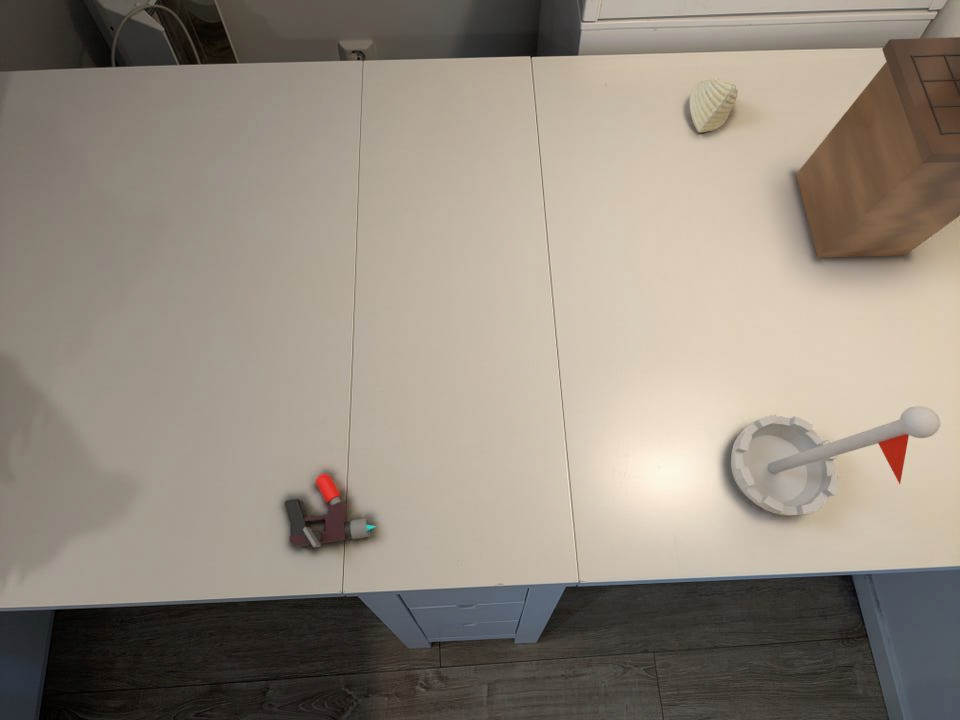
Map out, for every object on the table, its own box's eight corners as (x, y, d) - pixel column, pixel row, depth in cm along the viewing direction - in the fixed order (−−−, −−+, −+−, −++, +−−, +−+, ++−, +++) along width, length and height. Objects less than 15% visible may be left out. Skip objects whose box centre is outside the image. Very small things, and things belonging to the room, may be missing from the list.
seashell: (745, 89, 97) (754, 102, 91) (709, 130, 103) (714, 145, 97) (710, 61, 96) (717, 72, 90) (675, 104, 101) (679, 118, 95)
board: (881, 168, 94) (1017, 34, 70) (912, 261, 88) (1071, 149, 64) (787, 171, 94) (890, 38, 70) (811, 264, 88) (932, 154, 64)
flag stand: (720, 419, 80) (847, 343, 52) (812, 427, 79) (992, 356, 51) (724, 511, 76) (865, 484, 47) (822, 522, 75) (1023, 500, 47)
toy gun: (379, 539, 75) (371, 538, 71) (290, 552, 75) (277, 552, 70) (373, 468, 78) (366, 462, 74) (288, 480, 78) (276, 475, 73)
